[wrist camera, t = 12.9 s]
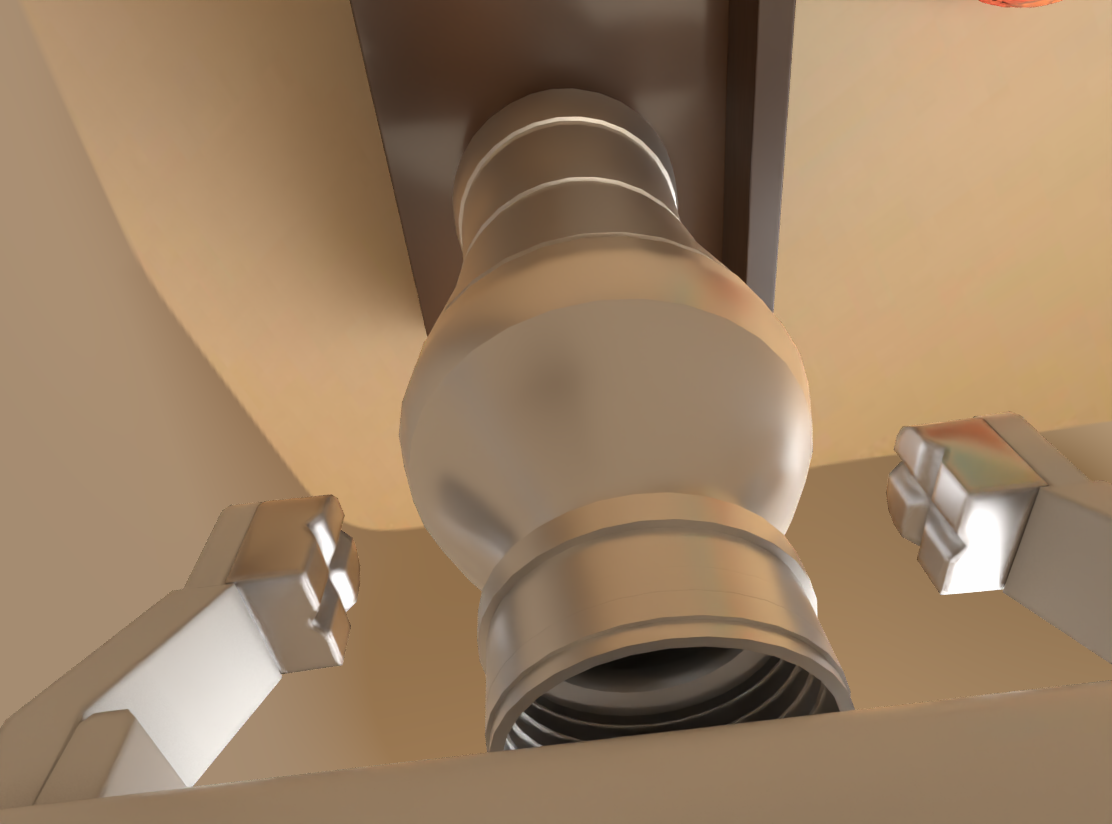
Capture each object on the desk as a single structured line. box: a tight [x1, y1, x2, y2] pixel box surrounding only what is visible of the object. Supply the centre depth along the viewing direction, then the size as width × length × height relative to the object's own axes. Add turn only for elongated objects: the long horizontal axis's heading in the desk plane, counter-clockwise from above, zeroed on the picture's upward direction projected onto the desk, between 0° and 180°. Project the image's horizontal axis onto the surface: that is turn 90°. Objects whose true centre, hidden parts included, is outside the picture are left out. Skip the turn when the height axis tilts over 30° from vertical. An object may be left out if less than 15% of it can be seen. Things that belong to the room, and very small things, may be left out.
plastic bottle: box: [399, 88, 855, 753], centre depth 15 cm, size 6×7×20 cm
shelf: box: [350, 0, 796, 337], centre depth 25 cm, size 12×16×9 cm
